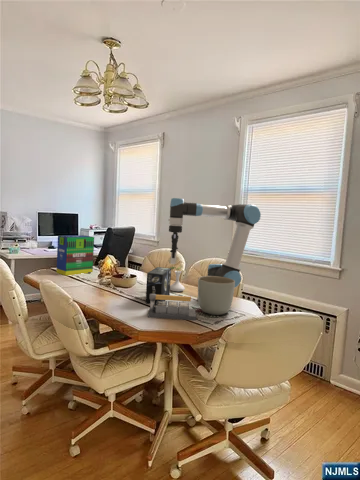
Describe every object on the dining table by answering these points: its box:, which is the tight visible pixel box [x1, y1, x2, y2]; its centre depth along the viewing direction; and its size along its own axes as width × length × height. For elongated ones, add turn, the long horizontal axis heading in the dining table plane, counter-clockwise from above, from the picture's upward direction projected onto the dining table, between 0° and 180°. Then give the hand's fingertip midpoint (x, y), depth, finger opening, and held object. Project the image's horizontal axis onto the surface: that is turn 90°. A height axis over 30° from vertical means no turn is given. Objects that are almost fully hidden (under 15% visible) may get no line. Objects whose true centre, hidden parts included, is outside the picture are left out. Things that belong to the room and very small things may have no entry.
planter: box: [197, 275, 236, 316], centre depth 195 cm, size 21×21×19 cm
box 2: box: [145, 266, 172, 306], centre depth 213 cm, size 23×10×19 cm, turn 168°
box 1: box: [56, 234, 95, 276], centre depth 280 cm, size 25×14×30 cm, turn 140°
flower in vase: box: [167, 255, 186, 292], centre depth 241 cm, size 13×11×25 cm
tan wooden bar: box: [149, 294, 192, 303], centre depth 184 cm, size 22×4×2 cm, turn 91°
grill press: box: [147, 300, 197, 321], centre depth 185 cm, size 25×14×7 cm, turn 91°
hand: (173, 262), depth 197 cm, fingers open, 13 cm apart
